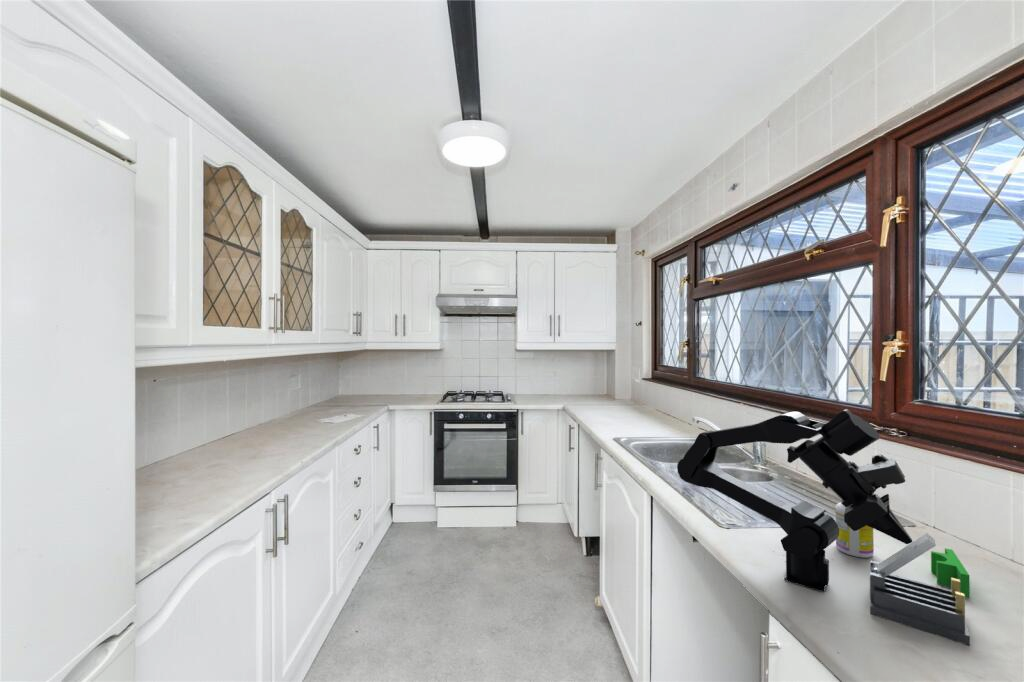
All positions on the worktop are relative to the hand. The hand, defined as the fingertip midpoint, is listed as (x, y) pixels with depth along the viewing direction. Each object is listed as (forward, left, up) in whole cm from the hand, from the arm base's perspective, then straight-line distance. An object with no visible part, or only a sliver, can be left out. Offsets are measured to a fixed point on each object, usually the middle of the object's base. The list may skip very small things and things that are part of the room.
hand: (909, 542), depth 75 cm
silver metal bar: (0, 0, -4) cm, 4 cm away
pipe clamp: (+6, +18, -13) cm, 23 cm away
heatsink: (+1, 0, -12) cm, 13 cm away
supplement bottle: (-8, +21, -13) cm, 26 cm away
